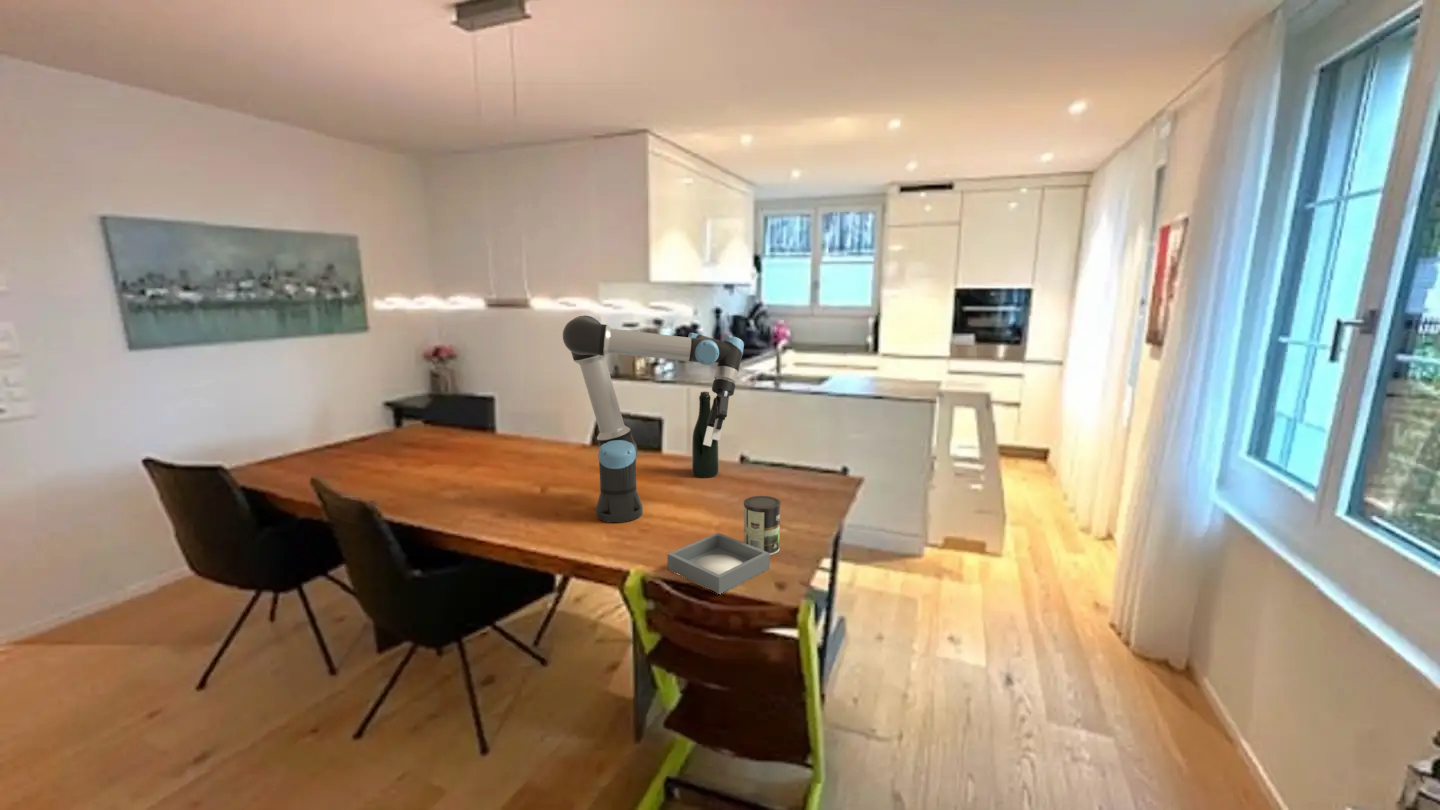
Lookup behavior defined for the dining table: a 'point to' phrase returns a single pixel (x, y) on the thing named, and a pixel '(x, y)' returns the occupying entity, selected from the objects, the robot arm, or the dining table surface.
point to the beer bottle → (702, 455)
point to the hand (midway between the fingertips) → (711, 442)
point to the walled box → (718, 562)
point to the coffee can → (762, 523)
